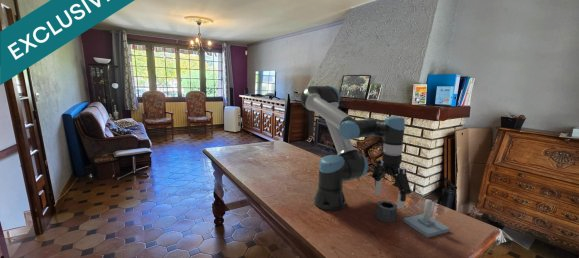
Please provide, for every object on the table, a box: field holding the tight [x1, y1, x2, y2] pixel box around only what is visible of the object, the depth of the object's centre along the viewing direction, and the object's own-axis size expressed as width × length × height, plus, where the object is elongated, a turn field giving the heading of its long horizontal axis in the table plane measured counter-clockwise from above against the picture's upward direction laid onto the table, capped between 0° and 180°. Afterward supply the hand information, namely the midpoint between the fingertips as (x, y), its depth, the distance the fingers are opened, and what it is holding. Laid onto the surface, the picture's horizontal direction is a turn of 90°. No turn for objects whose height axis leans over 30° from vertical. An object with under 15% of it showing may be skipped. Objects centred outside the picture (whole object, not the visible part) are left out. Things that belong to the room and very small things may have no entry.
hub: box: [375, 200, 398, 224], centre depth 109 cm, size 8×8×6 cm
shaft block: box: [403, 199, 451, 238], centre depth 103 cm, size 12×12×12 cm
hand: (388, 200), depth 108 cm, fingers open, 13 cm apart
